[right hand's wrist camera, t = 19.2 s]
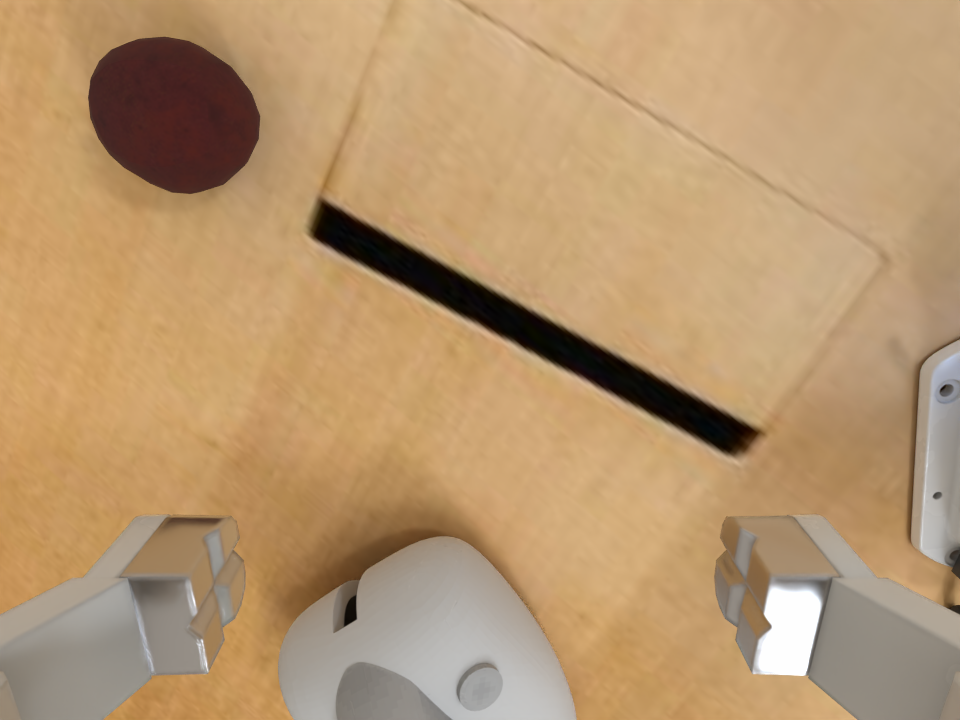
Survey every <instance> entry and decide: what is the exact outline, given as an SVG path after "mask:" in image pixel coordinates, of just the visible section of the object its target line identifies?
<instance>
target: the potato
mask: <svg viewBox="0 0 960 720" xmlns="http://www.w3.org/2000/svg"><path fill="white" fill-rule="evenodd" d="M88 100H89V109H90V118H91V121H92V123H93V126H94V128H95V131H96V133H97V136H98V138H99V140H100V141H101V143H102V144H103V146H104V147H105V149H106V150H107V151H108V153H109V154H110V155H111V156H112V157H113V158H114V159H115V160H116V161H117V162H118V163H120V164H121V165H122V166H123V167H124V168H126V169H127V170H129V171H131V172H132V173H134V174H136V175H138V176H139V177H141V178H142V179H144V180H146V181H147V182H149V183H150V184H153V185H155V186H158V187H160V188H163V189H165V190H168V191H170V192H173V193H187V194H192V193H197V192H201V191H204V190H208V189H211V188H214V187H217V186H220V185H223V184H225V183H226V182H227V181H228V180H229V179H230V178H231V177H232V176H234V175H235V174H236V173H237V172H238V171H239V170H240V169H241V168H242V167H244V166H245V164H246V163H247V162H248V160H249V158H250V156H251V154H252V152H253V149H254V147H255V145H256V143H257V141H258V139H259V124H260V115H259V112H258V109H257V107H256V104H255V101H254V98H253V95H252V93H251V92H250V90H249V89H248V88H247V86H246V85H245V84H244V83H243V81H242V80H241V79H240V77H239V76H238V75H237V74H236V72H235V71H234V70H233V69H232V67H230V66H229V65H228V64H226V63H225V62H223V61H222V60H220V59H219V58H217V57H216V56H214V55H213V54H211V53H210V52H208V51H207V50H205V49H204V48H202V47H200V46H198V45H196V44H194V43H191V42H189V41H185V40H180V39H174V38H169V37H157V38H145V39H138V40H135V41H132V42H129V43H126V44H124V45H122V46H119V47H117V48H115V49H112V50H111V51H110V52H109V53H108V54H107V55H106V56H104V57H103V58H102V59H101V60H100V61H99V63H98V65H97V67H96V69H95V71H94V73H93V75H92V77H91V80H90V89H89V95H88Z"/></svg>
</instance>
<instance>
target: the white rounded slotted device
mask: <svg viewBox="0 0 960 720" xmlns="http://www.w3.org/2000/svg"><path fill="white" fill-rule="evenodd" d="M278 674H279V682H280V688H281V691H282V695H283V698H284V701H285V703H286V706H287V708H288V710H289V712H290V714H291V716H292V717H293V719H294V720H577V718H576V712H575V706H574V702H573V698H572V695H571V692H570V688H569V685H568V682H567V680H566V677H565V674H564V672H563V670H562V667H561V665H560V663H559V660H558V658H557V656H556V654H555V652H554V650H553V648H552V646H551V645H550V643H549V641H548V639H547V638H546V636H545V634H544V633H543V631H542V629H541V628H540V626H539V625H538V623H537V621H536V620H535V618H534V617H533V616H532V614H531V613H530V611H529V610H528V608H527V607H526V605H525V604H524V603H523V601H522V600H521V599H520V597H519V596H518V595H517V594H516V592H515V591H514V590H513V588H512V587H511V586H510V585H509V584H508V582H507V581H506V580H505V579H504V578H503V576H502V575H501V574H500V573H499V572H498V571H497V570H496V568H495V567H494V566H493V565H492V564H491V563H490V562H489V561H488V560H487V559H486V558H485V557H484V556H483V555H482V554H481V553H480V552H479V551H478V550H476V549H475V548H474V547H472V546H471V545H470V544H468V543H467V542H465V541H463V540H461V539H458V538H455V537H450V536H439V537H433V538H428V539H424V540H421V541H418V542H416V543H414V544H411V545H409V546H407V547H405V548H403V549H401V550H399V551H397V552H395V553H394V554H392V555H390V556H388V557H387V558H385V559H383V560H381V561H380V562H378V563H376V564H375V565H373V566H371V567H370V568H368V569H367V570H366V571H365V572H364V573H363V575H362V577H361V579H360V580H351V581H347V582H345V583H344V584H342V585H341V586H339V587H337V588H336V589H334V590H333V591H331V592H330V593H328V594H327V595H325V596H323V597H322V598H321V599H319V600H318V601H316V602H315V603H314V604H312V605H311V606H309V607H308V608H307V609H306V610H305V611H304V612H302V613H301V614H300V615H299V616H298V617H297V618H296V620H295V621H294V622H293V624H292V625H291V627H290V628H289V630H288V632H287V634H286V636H285V638H284V640H283V643H282V646H281V649H280V654H279V662H278Z"/></svg>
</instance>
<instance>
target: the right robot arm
mask: <svg viewBox="0 0 960 720" xmlns="http://www.w3.org/2000/svg"><path fill="white" fill-rule="evenodd" d="M944 385H946V386H945V388H944V389H943V390H942V391H940V389H941V388H942V387H943V386H944ZM239 538H240V536H239V531H238V526H237V521H236V520H235V519H234V518H233V517H232V516H213V515H141V516H138V517H135V518H134V519H133V521H132V522H131V523H130V524H129V525H128V526H127V527H126V529H125V530H124V531H123V532H122V533H121V534H120V535H119V537H118V538H117V539H116V540H115V541H114V542H113V543H112V545H111V546H110V547H109V548H108V549H107V550H106V552H105V553H104V554H103V555H102V556H101V557H100V558H99V560H98V561H97V562H96V563H95V564H94V565H93V566H92V568H91V569H90V570H89V571H88V572H87V573H86V574H85V576H84V577H83V578H71V579H69V580H68V581H66V582H64V583H62V584H60V585H58V586H56V587H54V588H52V589H50V590H48V591H46V592H44V593H42V594H40V595H38V596H36V597H34V598H32V599H30V600H28V601H26V602H24V603H22V604H20V605H18V606H16V607H14V608H12V609H10V610H8V611H6V612H4V613H2V614H0V720H103V719H104V718H105V717H106V716H108V715H109V714H110V713H111V712H112V711H114V710H115V709H116V708H117V707H118V706H120V705H121V704H122V703H123V702H124V701H125V700H127V699H128V698H129V697H130V696H131V695H133V694H134V693H135V692H136V691H137V690H138V689H140V688H141V687H142V686H143V685H144V684H146V683H147V682H148V681H149V680H150V679H151V675H183V674H208V672H209V670H210V668H211V666H212V664H213V662H214V660H215V658H216V656H217V654H218V652H219V650H220V648H221V646H222V644H223V642H224V634H223V627H224V626H225V625H227V624H228V623H230V622H231V621H232V620H234V619H235V617H236V615H237V613H238V611H239V609H240V607H241V604H242V599H243V595H244V590H245V567H244V560H243V559H242V558H241V557H240V556H239V555H238V554H237V553H236V552H235V551H234V550H233V549H234V547H235V546H236V544H237V542H238V540H239ZM720 538H721V540H722V542H723V544H724V546H725V547H726V549H727V550H726V551H725V552H724V553H723V554H722V555H721V556H720V557H719V558H718V559H717V560H716V568H715V576H714V578H715V590H716V596H717V600H718V603H719V607H720V609H721V611H722V613H723V615H724V617H725V619H726V620H728V621H729V622H730V623H732V624H733V625H735V626H736V627H738V628H737V634H736V642H737V644H738V646H739V648H740V650H741V652H742V654H743V656H744V658H745V660H746V662H747V664H748V666H749V668H750V670H751V672H752V674H776V675H809V677H808V678H809V679H810V680H811V681H812V682H814V683H815V684H816V685H817V686H818V687H819V688H821V689H822V690H823V691H824V692H825V693H827V694H828V695H829V696H830V697H831V698H832V699H834V700H835V701H836V702H837V703H838V704H840V705H841V706H842V707H843V708H844V709H845V710H847V711H848V712H849V713H850V714H851V715H853V716H854V717H855V718H856V719H857V720H960V605H955V606H953V607H952V608H950V609H948V608H946V607H944V606H942V605H940V604H938V603H936V602H934V601H932V600H930V599H928V598H926V597H924V596H922V595H920V594H918V593H916V592H914V591H912V590H910V589H908V588H906V587H904V586H902V585H900V584H898V583H896V582H894V581H892V580H891V579H889V578H877V577H876V576H875V574H874V573H873V572H872V571H871V570H870V569H869V568H868V566H867V565H866V564H865V563H864V562H863V561H862V560H861V558H860V557H859V556H858V555H857V554H856V553H855V552H854V550H853V549H852V548H851V547H850V546H849V545H848V544H847V542H846V541H845V540H844V539H843V538H842V537H841V535H840V534H839V533H838V532H837V531H836V530H835V529H834V527H833V526H832V525H831V524H830V523H829V522H828V521H827V519H826V518H824V517H823V516H820V515H818V514H806V515H787V516H739V517H726V518H725V520H724V522H723V525H722V530H721V535H720ZM911 543H912V545H913V546H914V547H915V548H916V549H917V550H919V551H920V552H921V553H923V554H924V555H925V556H927V557H929V558H930V559H932V560H934V561H936V562H938V563H941V564H943V565H946V566H949V567H953V569H952V572H953V573H954V574H955V575H956V576H957V577H958V578H959V579H960V339H959V340H957V341H955V342H953V343H951V344H950V345H948V346H946V347H944V348H942V349H941V350H939V351H937V352H936V353H934V354H933V355H931V356H930V357H929V358H928V359H927V360H926V361H925V362H924V364H923V365H922V367H921V370H920V378H919V396H918V414H917V432H916V450H915V468H914V486H913V504H912V522H911Z"/></svg>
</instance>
